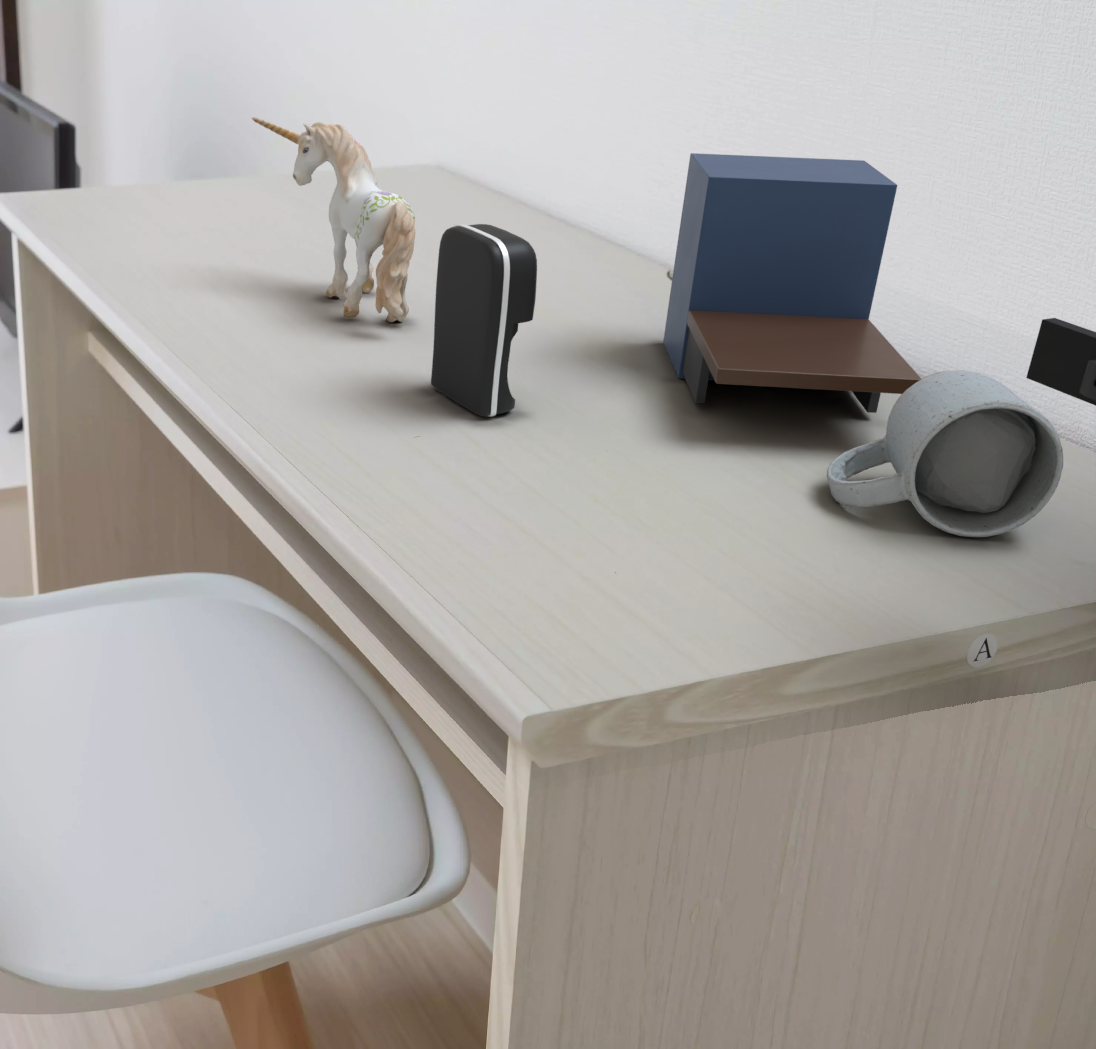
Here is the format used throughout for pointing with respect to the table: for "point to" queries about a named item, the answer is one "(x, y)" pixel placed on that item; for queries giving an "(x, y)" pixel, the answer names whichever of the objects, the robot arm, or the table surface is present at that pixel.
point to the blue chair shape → (782, 277)
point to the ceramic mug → (958, 456)
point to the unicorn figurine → (358, 217)
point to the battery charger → (480, 313)
